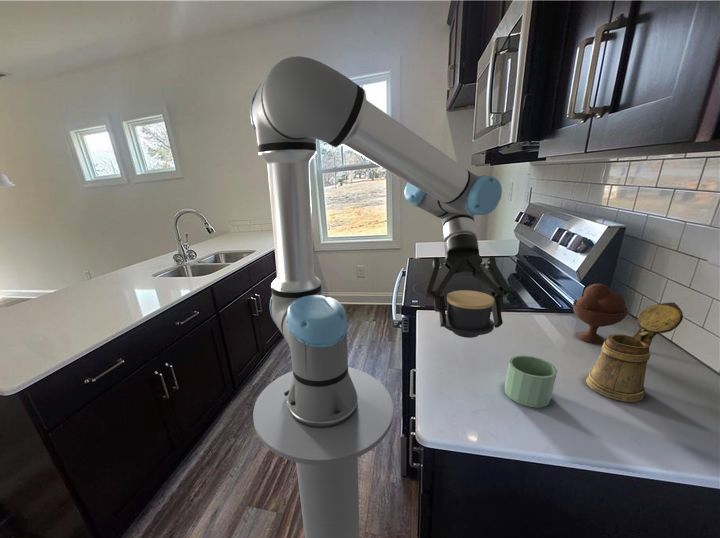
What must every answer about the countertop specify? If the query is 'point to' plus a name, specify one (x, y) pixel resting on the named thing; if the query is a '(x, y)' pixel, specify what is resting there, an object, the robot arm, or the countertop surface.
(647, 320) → the wooden mug
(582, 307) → the ice cream bowl
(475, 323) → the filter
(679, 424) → the countertop surface
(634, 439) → the countertop surface
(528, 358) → the cup
